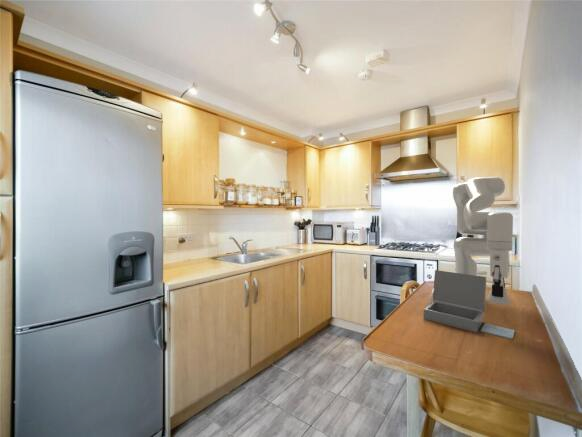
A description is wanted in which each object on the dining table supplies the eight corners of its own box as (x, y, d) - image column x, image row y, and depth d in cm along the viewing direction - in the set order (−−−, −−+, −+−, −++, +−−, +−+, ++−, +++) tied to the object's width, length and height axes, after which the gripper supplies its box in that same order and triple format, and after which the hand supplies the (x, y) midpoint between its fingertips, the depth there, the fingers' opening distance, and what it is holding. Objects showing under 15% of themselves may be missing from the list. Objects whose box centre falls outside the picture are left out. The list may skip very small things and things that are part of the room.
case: (434, 309, 119) (434, 299, 119) (483, 321, 107) (483, 309, 107) (423, 318, 109) (423, 307, 109) (476, 332, 96) (476, 319, 96)
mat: (484, 324, 104) (484, 323, 104) (514, 331, 97) (514, 330, 97) (480, 331, 97) (480, 330, 97) (512, 339, 91) (512, 338, 91)
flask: (487, 298, 102) (487, 272, 102) (511, 302, 97) (512, 275, 97) (484, 302, 97) (485, 275, 97) (510, 307, 92) (510, 278, 92)
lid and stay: (434, 301, 122) (434, 269, 122) (485, 312, 108) (486, 276, 108) (428, 306, 115) (428, 272, 115) (482, 318, 102) (482, 280, 102)
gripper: (510, 248, 88) (509, 302, 88) (514, 245, 101) (513, 292, 101) (482, 246, 94) (482, 297, 94) (490, 243, 106) (489, 288, 106)
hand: (498, 294), depth 97 cm, fingers closed on flask, 4 cm apart
